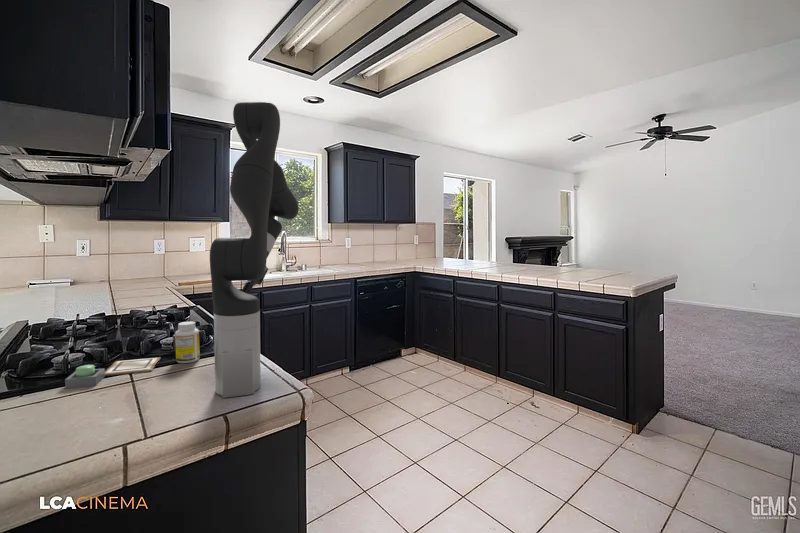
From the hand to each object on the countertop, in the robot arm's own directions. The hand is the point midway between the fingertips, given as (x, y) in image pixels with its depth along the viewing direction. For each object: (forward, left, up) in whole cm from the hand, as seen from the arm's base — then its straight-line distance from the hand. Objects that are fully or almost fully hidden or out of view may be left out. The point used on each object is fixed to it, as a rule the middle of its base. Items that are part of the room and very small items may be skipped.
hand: (232, 292), depth 109 cm
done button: (-17, +30, -16) cm, 38 cm away
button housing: (-17, +30, -17) cm, 38 cm away
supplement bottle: (-8, +11, -17) cm, 22 cm away
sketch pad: (-9, +23, -17) cm, 30 cm away
